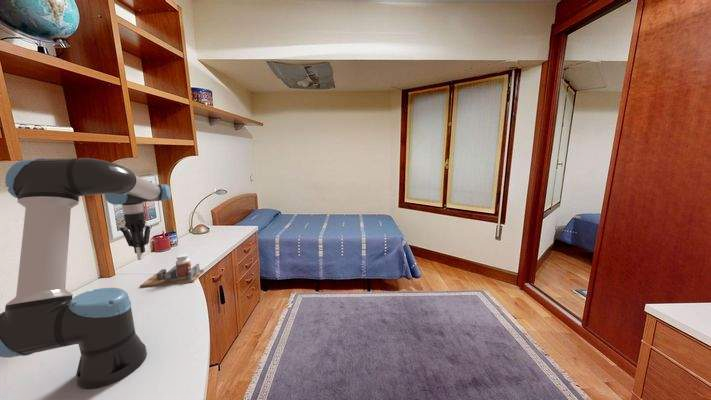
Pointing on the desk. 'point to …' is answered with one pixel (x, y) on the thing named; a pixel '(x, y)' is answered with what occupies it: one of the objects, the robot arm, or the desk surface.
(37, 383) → the desk surface
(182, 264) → the pill bottle
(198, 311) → the desk surface
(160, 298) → the desk surface
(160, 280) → the mount
